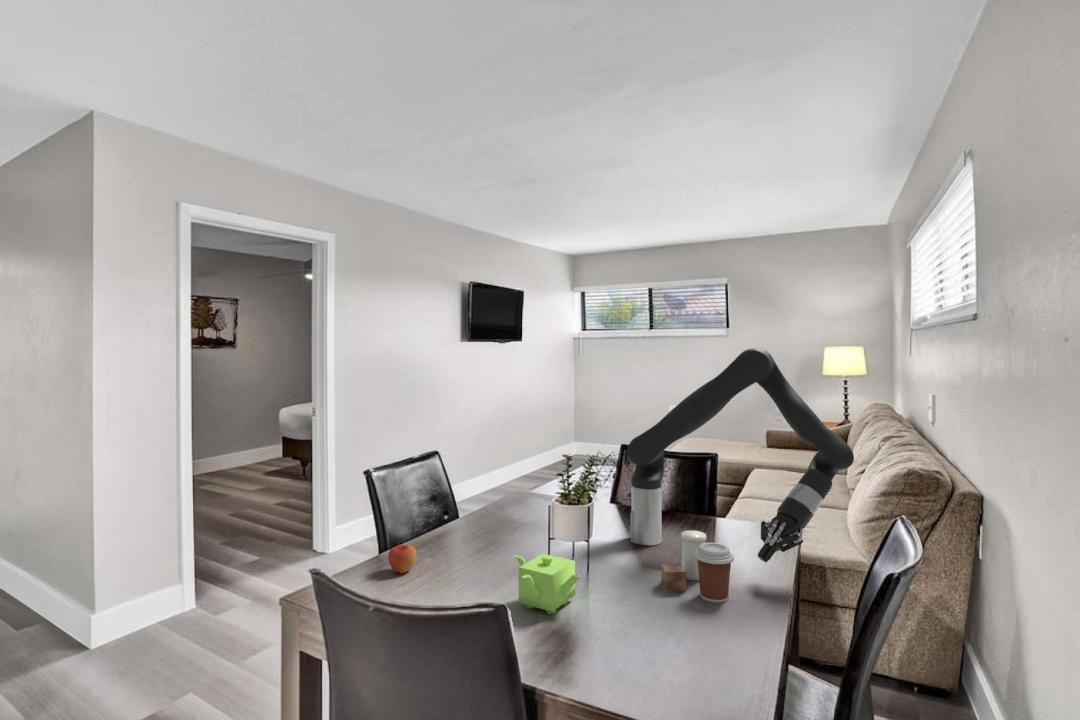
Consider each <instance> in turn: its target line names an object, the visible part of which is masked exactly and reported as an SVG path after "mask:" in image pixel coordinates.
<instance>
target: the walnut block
mask: <svg viewBox="0 0 1080 720" xmlns="http://www.w3.org/2000/svg"><path fill="white" fill-rule="evenodd" d="M660 566H661V567H660V571H661V572H660V578H661V579H660V583H661V586H662V588H663V590H664V592H665V593H686V592H687V579H686V571H685V570H684V568H683V567H682V563H681V564H676V563H675V564H660Z"/></svg>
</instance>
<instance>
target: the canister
mask: <svg viewBox="0 0 1080 720" xmlns="http://www.w3.org/2000/svg"><path fill="white" fill-rule="evenodd" d="M680 537H681V565H682V567H683V568H684V570H685V571H686V580H689V581H699V573H698V561H697V559H696V558H695V556H694V553H695V551H696V550H698V549H699V546H700V545H701V544H703V543H707V542H706V540H707V534H706V533H705V532H702V531H700V530H684V531H682V532H681V533H680Z"/></svg>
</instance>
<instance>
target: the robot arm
mask: <svg viewBox="0 0 1080 720" xmlns="http://www.w3.org/2000/svg"><path fill="white" fill-rule="evenodd" d="M754 384H758V385H759V387H761V388H762V389H763V390H764V391H765V392H766V394H768V396H769V397H770V398H771V400H772V401H773V402H774V404H775V405H776V407H777V408H778V410H779V412H780V413H781V416H783V418H784V420H785V421H786V423H787V424H788V426H790V428H791V429H792V430H793V431H794V433H795V434H796V435H797V436H798V437H799V438H800V439H801V441H802V442H803V443H805V444H808V445H812V446H813V447H815V448H816V449H817V450H818V451H817V452H816V453H815V454H814V456H813V457H812V460H811V461H810V463H809V465H808V467H807V470H806V472H805V473H804V474H803V475H802V476H801V478H800V479H799V481H798V482H797V484H796V485H795V486H793V488H792V489H791V490H790V491H789V493H788V494H787V495H786V497H785V498H784V499H783V501H782V502H781V504H779V506H778V508H777V509H776V515H775V517H773V518H771V520H770V521H768V522H766V521H765V520H763V521H761V523H760V540H762V542H763V545H762V547H761V548H760V550H759V551H758V554H757V557H758V558H759V560H760V561H762V562H764V563H768V561H770V560H771V559H772V557H773V556H774V554H775V553H777V552H778V551H781V553H785V552H786V551H789V550H791V549H793V548H795V547H797V546H800V545H801V544H803V543H804V540H803V539H802V537H801V535H800V533H801V531H802V530H804V529H805V528H806V527H807V525H808V524H809V523H810V521H811V520H812V519H813V517H814V515H815V514H816V512H818V510H819V508H820V506H821V504H822V502H823V501H824V499H826V496H828V494H829V492H830V491H831V489H832V487H833V481H832V480H833V479H834V477H835V476H836V475H837V473H838V472H840V471H842V470H847V469H848V468H850V467H851V466H852V465H853V463H854V461H855V455H854V452H853V450H852V448H851V447H850V445H849V444H848V443H847V442H846V441H845V440H844V439H843V438H842V437H840V436H839V435H837V433H836V432H834V431H832V430H831V429H830V428H829V427H827V426H826V425H825V424H824V423H823V421H822V420H821V419H820V418H819V417H818V415H817V414H816V413H815V412H814V411H813V409H812V408H810V406H809V405H808V404H807V403H806V402H805V401H804V400H803V398H802V397H801V396H800V395H799V394H798V393H797V391H796V390H794V388H793V386H792V385H791V384H790V383H789V381H788V380H787V379H786V377H785V376H784V374H783V373H782V371H781V370H780V368H779V366H778V365H777V363H776V361H775V359H774V358H773V356H772V354H771V353H770V352H769V351H768V350H766V349H764V348H761V347H754V348H753V347H751V348H747V349H745V350H743V351H742V352H741V353H740V354H739V355H738V356H737V357H735V359H734V360H733V361H732V362H731V363H729V365H728V366H727V367H726V368H725V369H723V370H722V371H721V372H720V373H719V374H717V376H715V377H714V378H712V379H710V380H709V381H708V382H705V383H704V384H703V385H701V386H700V387H698V388H697V389H696V390H694V391H692V392H691V393H690V394H689V395H687V396H686V397H685V398H684V399H683V400H681V401H680V402H679V403H677V404H676V405H675V406H674V407H673V408H672V409H671V410H670V411H669V412H668V413H666V415H665V416H663V418H661V420H659V421H658V422H657V423H656V424H654V425H653V426H652V427H650V428H648V429H647V430H646V431H644V432H643V433H642V432H641V434H639V435H638V436H635V437H634V438H633V439H631V440H630V442H629V444H628V446H627V450H626V451H627V457H628V460H629V461H630V462H631V463H632V464H633V465H635V469H634V472H633V474H632V476H631V480H630V482H631V483H630V484H631V489H630V490H631V494H630V495H631V497H630V498H631V502H630V503H631V510H630V543H633V544H637V545H640V546H641V545H642V546H657V545H660V544H661V543H662V536H663V534H662V532H663V531H662V525H663V524H662V520H663V519H662V483H663V482H662V481H663V477H664V473H665V472H664V471H665V470H664V469H665V450H666V449H667V448H668V447H670V445H672V444H674V443H675V442H677V441H679V440H680V439H682V438H684V437H686V436H688V435H690V434H692V433H693V432H695V431H696V430H699V429H700V428H701V427H702V426H704V425H705V424H707V423H708V422H709V421H711V420H712V419H713V418H714V417H715V416H717V415H718V413H720V412H721V411H722V410H723V408H725V407H726V406H727V404H728V403H729V402H730V401H731V400H732V399H733V398H734V397H735V396H737V395H738V394H740V393H741V392H742V391H744V390H746V389H747V388H749V387H751V386H752V385H754Z"/></svg>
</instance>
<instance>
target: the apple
mask: <svg viewBox="0 0 1080 720" xmlns="http://www.w3.org/2000/svg"><path fill="white" fill-rule="evenodd" d="M416 560H417V550H416V548H415V547H414V546H412V545H411V544H400V543H398V544H397V546H394V547H392V548H390V549H389V551H388V563H389V565H390V567H391V569H392V570H393V571H395V572H396V573H399V574H400V575H401V574H405V573H407V572H408V571H411V569H412V568H413V567H414V565H415V564H416Z"/></svg>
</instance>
